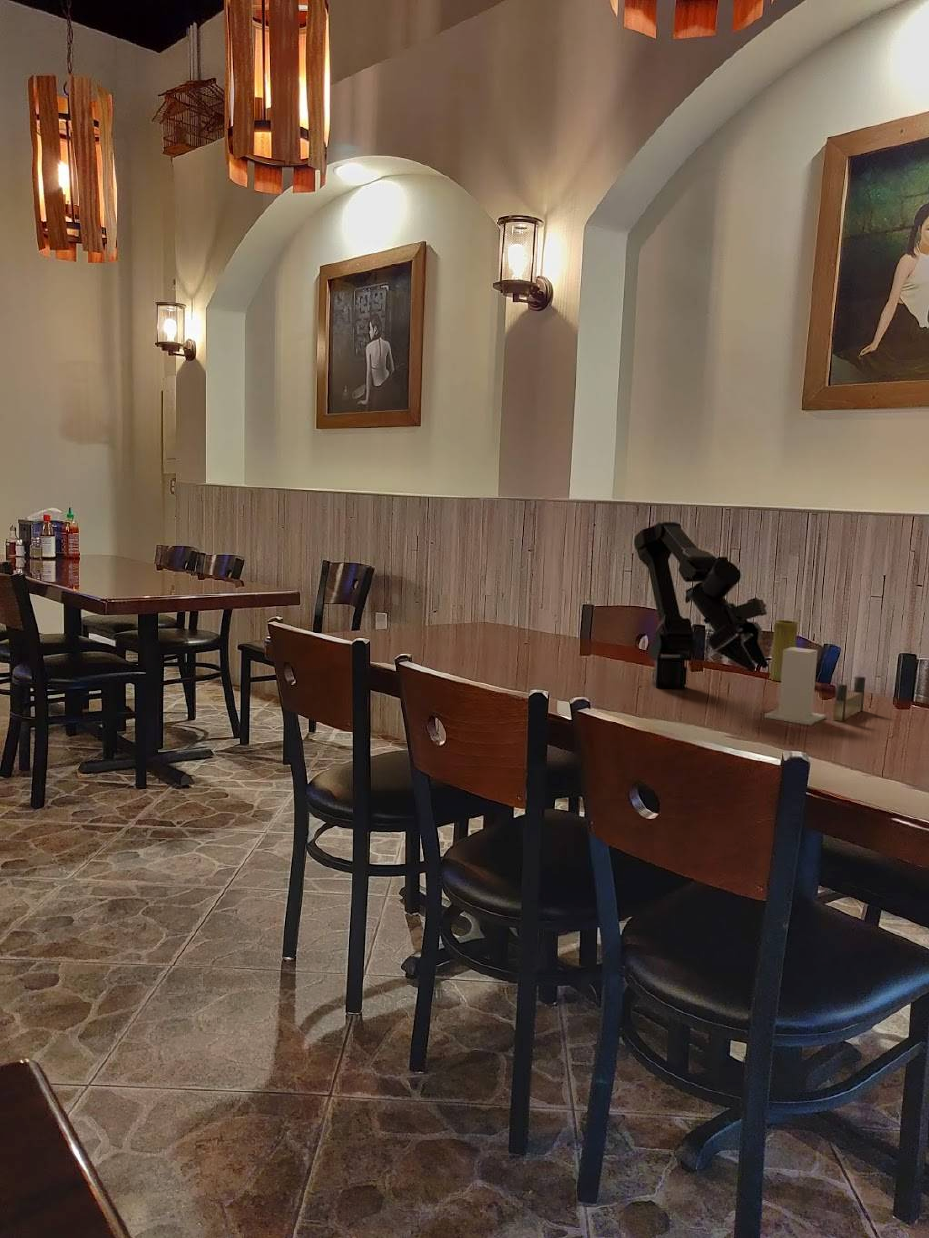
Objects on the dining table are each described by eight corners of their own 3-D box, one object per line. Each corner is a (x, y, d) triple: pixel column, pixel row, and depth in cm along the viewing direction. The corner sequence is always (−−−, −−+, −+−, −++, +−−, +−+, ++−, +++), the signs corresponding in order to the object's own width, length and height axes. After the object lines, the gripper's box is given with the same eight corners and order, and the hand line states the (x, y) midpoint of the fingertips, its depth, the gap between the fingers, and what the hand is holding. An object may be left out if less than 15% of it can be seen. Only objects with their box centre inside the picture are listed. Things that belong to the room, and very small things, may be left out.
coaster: (764, 717, 185) (764, 714, 184) (781, 710, 192) (781, 707, 191) (810, 725, 179) (810, 722, 179) (825, 717, 186) (825, 714, 186)
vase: (796, 679, 228) (800, 621, 226) (793, 683, 223) (798, 624, 221) (770, 676, 231) (774, 619, 229) (767, 680, 225) (771, 621, 223)
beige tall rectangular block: (778, 714, 185) (783, 649, 183) (787, 710, 189) (792, 647, 187) (803, 718, 182) (808, 652, 180) (812, 714, 186) (817, 650, 184)
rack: (832, 719, 184) (835, 684, 183) (853, 709, 195) (856, 676, 194) (842, 721, 183) (845, 686, 182) (863, 710, 194) (866, 677, 193)
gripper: (731, 583, 183) (780, 647, 178) (758, 584, 199) (803, 643, 194) (688, 617, 188) (734, 680, 183) (717, 615, 204) (760, 673, 199)
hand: (760, 668), depth 190 cm, fingers open, 9 cm apart
